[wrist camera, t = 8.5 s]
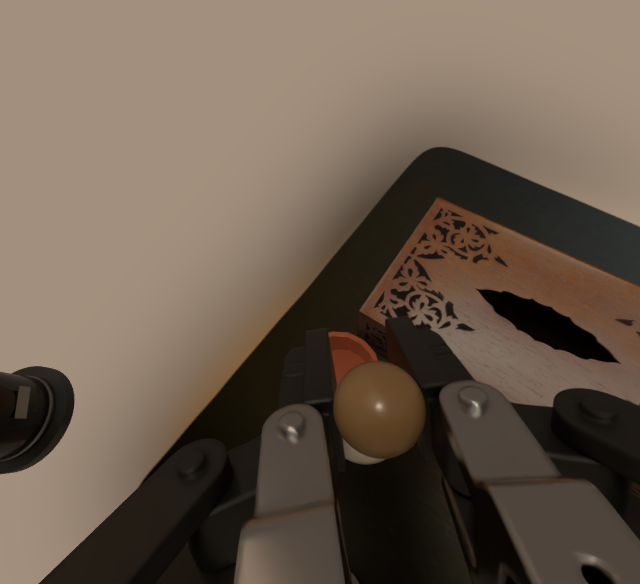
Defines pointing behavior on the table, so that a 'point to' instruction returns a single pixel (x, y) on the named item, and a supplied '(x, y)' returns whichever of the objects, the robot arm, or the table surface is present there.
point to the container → (354, 579)
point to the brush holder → (348, 352)
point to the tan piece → (378, 412)
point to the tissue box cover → (511, 309)
